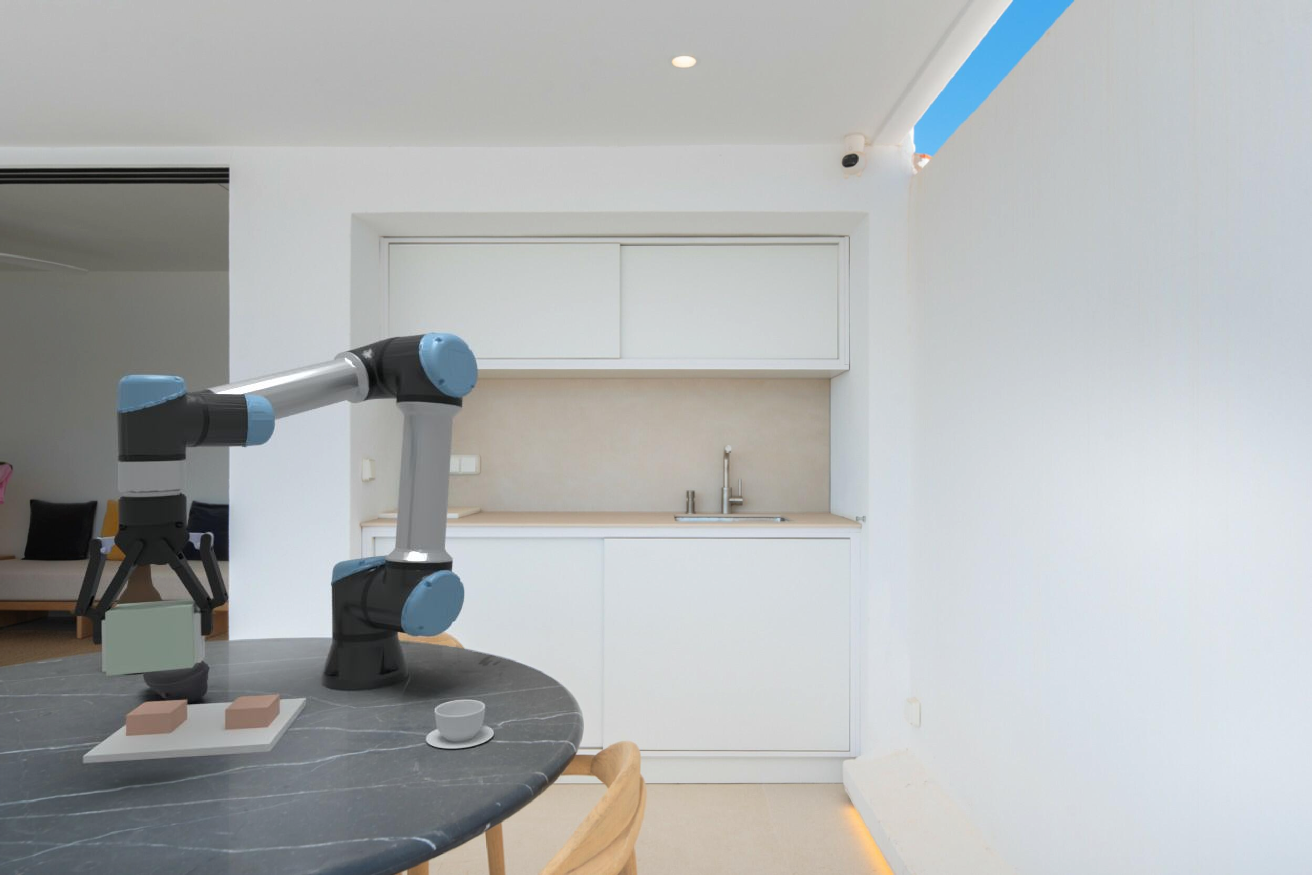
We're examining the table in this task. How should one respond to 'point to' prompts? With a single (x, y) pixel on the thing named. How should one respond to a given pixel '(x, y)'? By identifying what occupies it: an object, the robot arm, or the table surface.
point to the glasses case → (179, 682)
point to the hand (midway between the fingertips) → (155, 664)
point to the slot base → (199, 729)
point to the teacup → (459, 725)
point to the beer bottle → (140, 587)
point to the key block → (150, 636)
